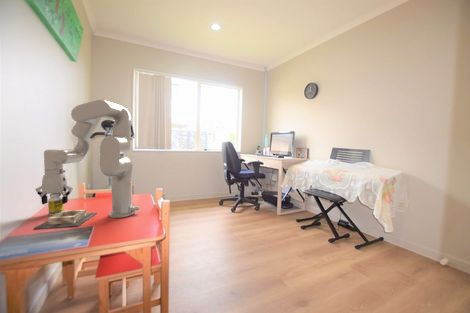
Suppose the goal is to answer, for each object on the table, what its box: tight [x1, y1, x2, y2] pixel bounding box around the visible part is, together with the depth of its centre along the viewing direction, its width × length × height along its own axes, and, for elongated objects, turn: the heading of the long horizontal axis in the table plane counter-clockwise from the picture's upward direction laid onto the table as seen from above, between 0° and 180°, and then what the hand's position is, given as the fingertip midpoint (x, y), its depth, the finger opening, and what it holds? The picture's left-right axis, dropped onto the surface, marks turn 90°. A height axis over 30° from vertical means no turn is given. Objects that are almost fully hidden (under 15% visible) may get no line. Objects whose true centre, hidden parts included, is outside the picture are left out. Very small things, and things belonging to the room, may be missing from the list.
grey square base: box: [33, 209, 98, 230], centre depth 104 cm, size 18×18×4 cm
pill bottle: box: [47, 193, 64, 216], centre depth 114 cm, size 6×6×11 cm
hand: (54, 203), depth 114 cm, fingers open, 9 cm apart
